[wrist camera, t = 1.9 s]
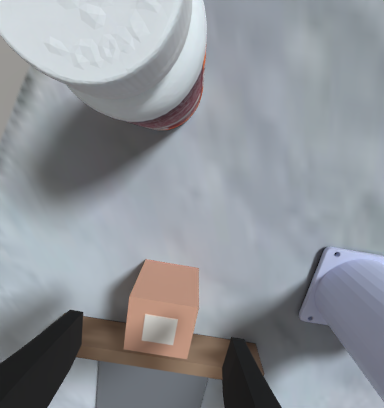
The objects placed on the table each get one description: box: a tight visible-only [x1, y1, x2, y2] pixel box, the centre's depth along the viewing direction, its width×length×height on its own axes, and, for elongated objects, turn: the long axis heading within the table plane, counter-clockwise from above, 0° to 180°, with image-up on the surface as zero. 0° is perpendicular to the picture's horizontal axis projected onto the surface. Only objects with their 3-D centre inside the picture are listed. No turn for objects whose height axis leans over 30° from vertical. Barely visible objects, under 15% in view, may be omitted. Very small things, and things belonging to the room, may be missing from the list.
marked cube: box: [124, 259, 199, 359], centre depth 18 cm, size 5×5×5 cm
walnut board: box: [64, 313, 264, 380], centre depth 21 cm, size 20×2×3 cm, turn 80°
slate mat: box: [96, 361, 208, 408], centre depth 24 cm, size 12×12×1 cm
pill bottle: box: [0, 0, 207, 130], centre depth 10 cm, size 6×6×11 cm
